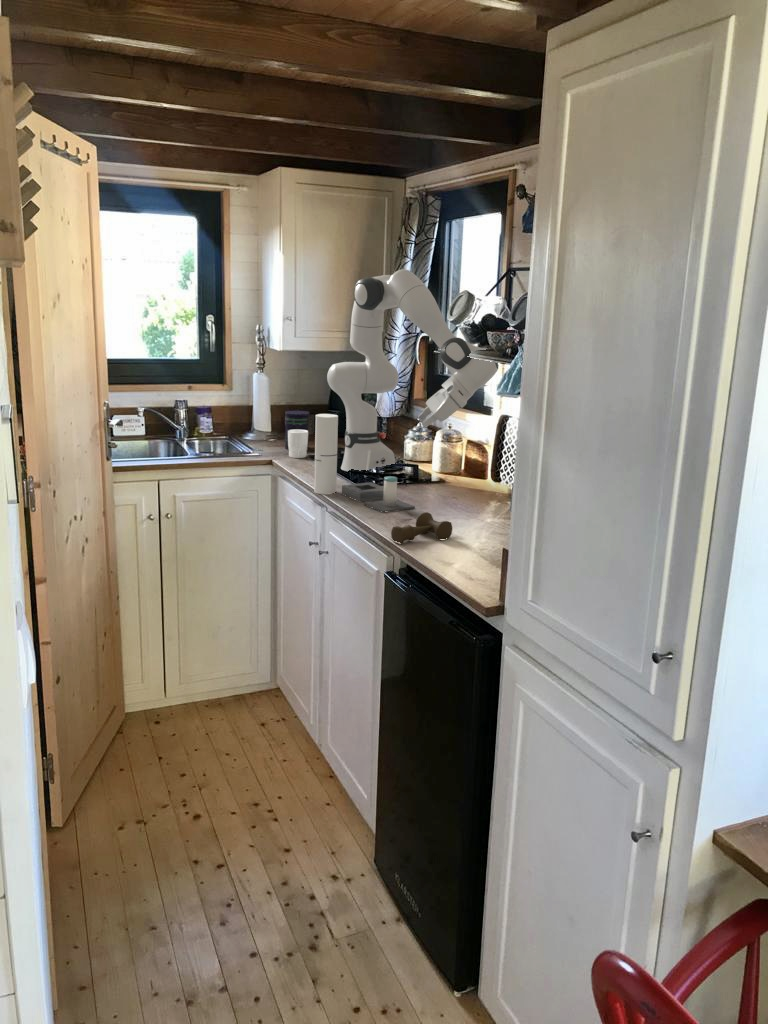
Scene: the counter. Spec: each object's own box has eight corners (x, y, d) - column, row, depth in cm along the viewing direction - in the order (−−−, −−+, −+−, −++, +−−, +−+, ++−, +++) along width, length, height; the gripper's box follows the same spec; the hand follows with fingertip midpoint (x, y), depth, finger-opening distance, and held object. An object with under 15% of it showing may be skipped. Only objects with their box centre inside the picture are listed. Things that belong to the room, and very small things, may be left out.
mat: (396, 500, 266) (396, 499, 266) (414, 508, 258) (414, 506, 258) (364, 505, 260) (364, 503, 259) (382, 512, 252) (382, 510, 251)
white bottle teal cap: (391, 502, 261) (392, 475, 259) (398, 505, 258) (399, 478, 256) (380, 503, 259) (381, 477, 257) (387, 506, 256) (388, 479, 254)
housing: (370, 490, 277) (370, 482, 277) (388, 498, 269) (389, 489, 268) (341, 494, 271) (342, 485, 271) (359, 502, 263) (360, 492, 262)
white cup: (283, 455, 328) (283, 430, 325) (300, 453, 333) (300, 428, 330) (295, 459, 322) (295, 433, 319) (311, 457, 327) (312, 431, 324)
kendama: (383, 541, 226) (439, 528, 238) (406, 551, 219) (462, 537, 231) (384, 520, 224) (440, 508, 236) (407, 530, 217) (464, 517, 229)
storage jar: (281, 447, 344) (281, 410, 340) (303, 445, 349) (303, 410, 345) (290, 451, 336) (290, 414, 332) (312, 450, 340) (313, 413, 336)
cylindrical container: (333, 495, 270) (334, 417, 263) (311, 493, 271) (312, 416, 265) (338, 490, 277) (340, 414, 270) (317, 488, 278) (319, 413, 272)
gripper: (443, 379, 267) (410, 408, 269) (453, 390, 248) (418, 421, 250) (455, 393, 269) (423, 422, 271) (467, 405, 250) (432, 436, 252)
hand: (421, 422), depth 260 cm, fingers open, 8 cm apart
